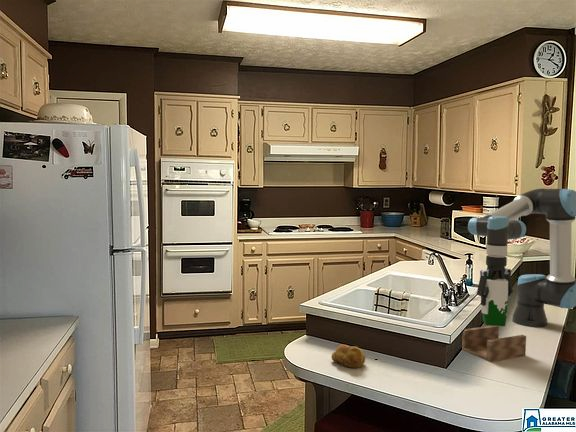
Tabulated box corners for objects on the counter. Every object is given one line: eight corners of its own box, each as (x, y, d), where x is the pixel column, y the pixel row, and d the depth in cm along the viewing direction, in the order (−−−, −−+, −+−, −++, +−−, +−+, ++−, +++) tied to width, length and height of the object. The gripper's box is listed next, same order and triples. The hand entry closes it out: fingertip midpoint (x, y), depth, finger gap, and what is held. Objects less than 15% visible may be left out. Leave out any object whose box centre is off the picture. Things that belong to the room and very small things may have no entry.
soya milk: (479, 319, 202) (481, 270, 201) (503, 320, 200) (505, 271, 199) (483, 325, 194) (485, 275, 192) (508, 327, 192) (510, 276, 190)
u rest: (494, 343, 209) (495, 324, 208) (525, 355, 194) (526, 336, 194) (460, 348, 202) (461, 329, 201) (489, 361, 187) (490, 341, 187)
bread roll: (326, 363, 185) (326, 342, 184) (340, 356, 192) (340, 336, 191) (356, 372, 177) (357, 350, 176) (370, 364, 184) (370, 343, 184)
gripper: (509, 253, 202) (507, 307, 204) (468, 255, 194) (465, 312, 196) (524, 255, 195) (522, 312, 197) (482, 258, 187) (479, 317, 189)
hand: (494, 312), depth 197 cm, fingers closed on soya milk, 9 cm apart
